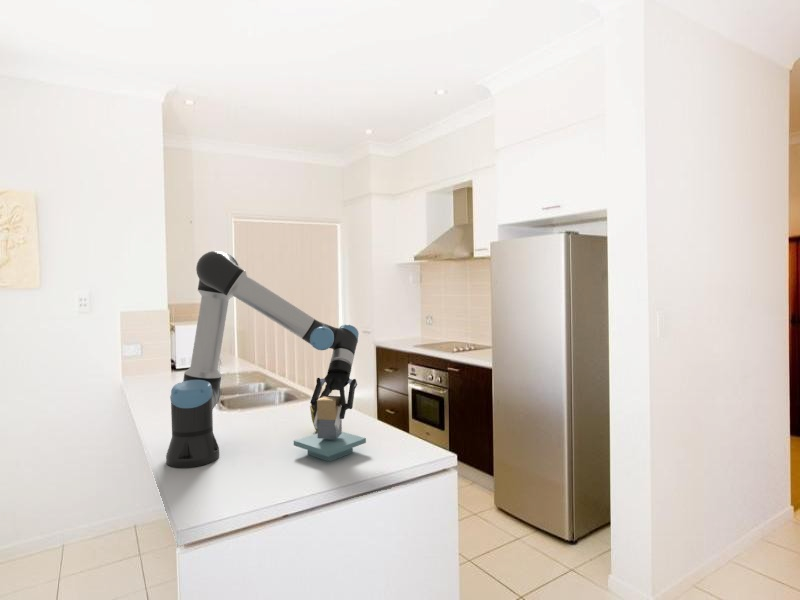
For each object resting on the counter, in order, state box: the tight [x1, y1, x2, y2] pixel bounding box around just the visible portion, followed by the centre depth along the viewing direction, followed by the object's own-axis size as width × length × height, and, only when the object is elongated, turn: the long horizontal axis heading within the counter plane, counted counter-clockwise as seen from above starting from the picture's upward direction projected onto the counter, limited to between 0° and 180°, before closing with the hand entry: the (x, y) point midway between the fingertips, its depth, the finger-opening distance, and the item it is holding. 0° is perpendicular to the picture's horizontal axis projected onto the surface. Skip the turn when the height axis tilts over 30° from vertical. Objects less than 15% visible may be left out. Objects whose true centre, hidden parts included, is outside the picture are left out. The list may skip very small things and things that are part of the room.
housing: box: [316, 395, 343, 439], centre depth 159 cm, size 6×6×12 cm
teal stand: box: [293, 431, 367, 462], centre depth 159 cm, size 16×16×4 cm
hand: (326, 426), depth 156 cm, fingers closed on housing, 6 cm apart
